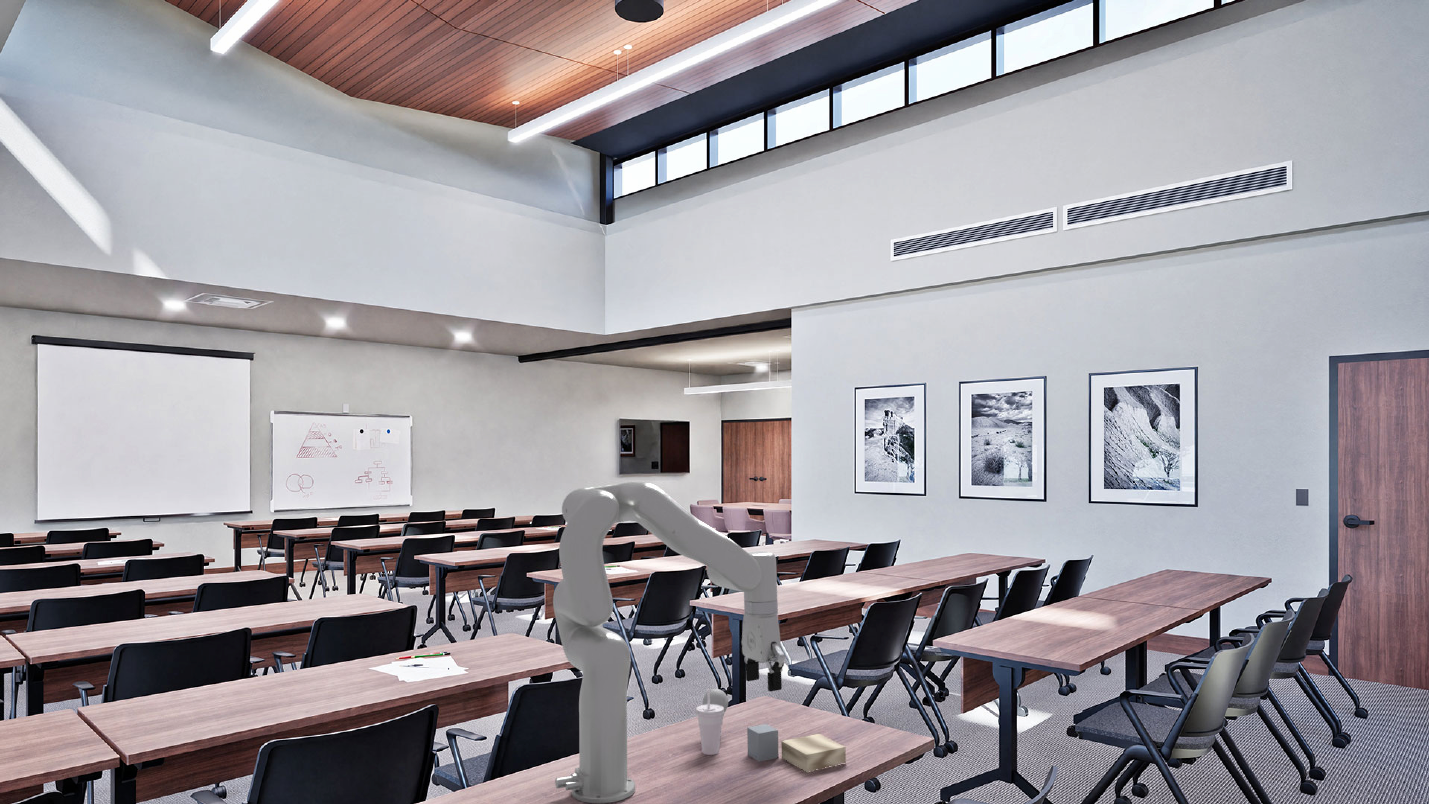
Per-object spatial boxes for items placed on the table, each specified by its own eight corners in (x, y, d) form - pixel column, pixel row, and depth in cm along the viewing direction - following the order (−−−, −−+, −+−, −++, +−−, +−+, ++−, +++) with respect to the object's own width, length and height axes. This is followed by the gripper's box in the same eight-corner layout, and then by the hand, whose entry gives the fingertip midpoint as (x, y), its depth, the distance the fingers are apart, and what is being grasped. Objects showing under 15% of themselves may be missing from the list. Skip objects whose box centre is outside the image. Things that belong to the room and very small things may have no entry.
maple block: (806, 774, 177) (806, 754, 177) (781, 759, 186) (781, 740, 186) (845, 765, 181) (845, 746, 182) (819, 751, 190) (819, 733, 190)
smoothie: (691, 754, 189) (690, 690, 190) (704, 745, 194) (704, 683, 195) (716, 758, 186) (715, 693, 187) (729, 749, 191) (728, 686, 192)
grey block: (758, 761, 184) (758, 733, 184) (747, 754, 188) (747, 727, 188) (778, 757, 186) (778, 730, 186) (767, 751, 190) (766, 723, 191)
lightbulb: (699, 734, 202) (698, 687, 203) (722, 730, 205) (721, 684, 205) (709, 742, 197) (709, 693, 197) (733, 738, 199) (732, 690, 200)
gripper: (728, 603, 195) (730, 679, 194) (766, 615, 180) (769, 697, 179) (756, 600, 199) (758, 674, 198) (796, 611, 183) (798, 691, 182)
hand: (763, 685), depth 188 cm, fingers open, 9 cm apart
